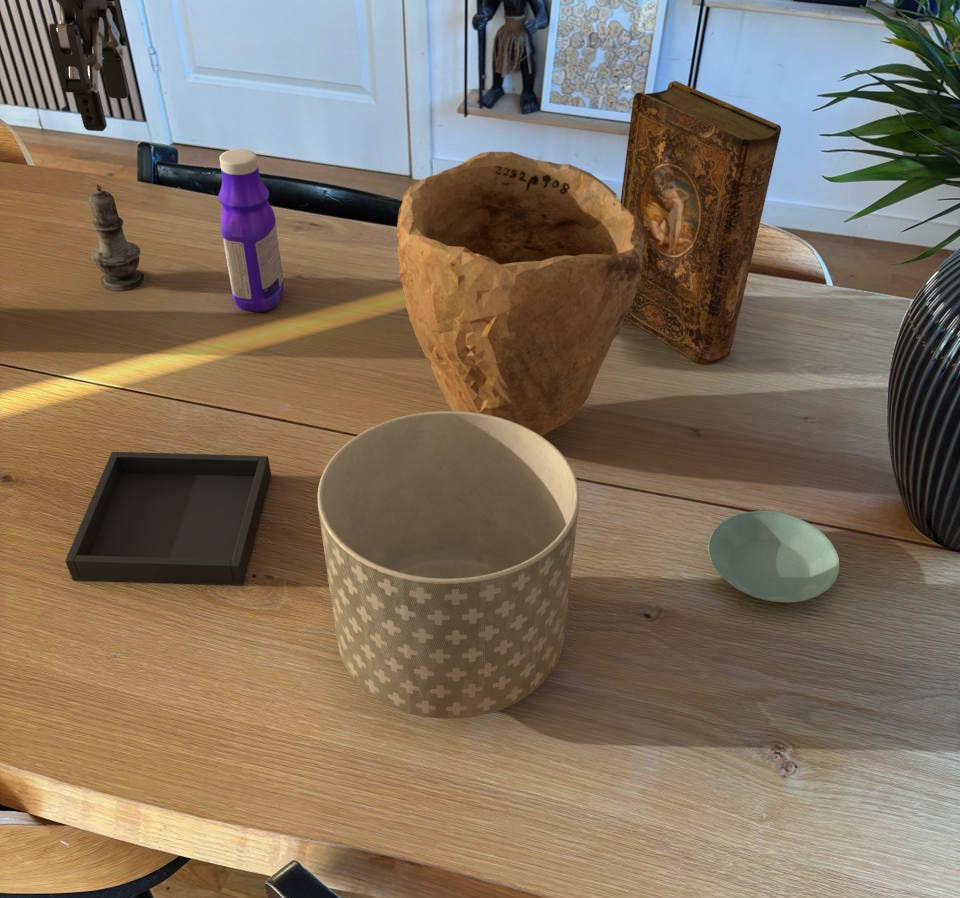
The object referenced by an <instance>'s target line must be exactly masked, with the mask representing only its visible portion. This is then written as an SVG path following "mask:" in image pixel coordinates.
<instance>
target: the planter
mask: <svg viewBox="0 0 960 898" xmlns="http://www.w3.org/2000/svg"><path fill="white" fill-rule="evenodd" d="M316 497H317V510H318V516H319V525H320V530H321V531H320V532H321V539H322V545H323V551H324V560H325V566H326V574H327V581H328V588H329V596H330V602H331V608H332V616H333V624H334V631H335V638H336V644H337V649H338V653H339V655H340V659H341V660H342V663H343V665H344V668H345V669H346V670H347V672H348V674H349V675H350V676H351V677H352V678H353V680H354V681H355V682H356V683H357V684H358V685H359V686H360V687H361V688H362V690H364V691H365V692H366V693H368V694H369V695H371V697H373V698H375V699H376V700H378V701H379V702H382V703H383V704H385V705H387V706H389V707H391V708H394V709H397V710H399V711H401V712H405V713H408V714H411V715H416V716H420V717H425V718H432V719H446V720H447V719H449V720H450V719H451V720H452V719H466V718H474V717H478V716H483V715H488V714H492V713H495V712H497V711H500V710H503V709H506V708H507V707H511V706H512V705H515V704H516V703H518V702H520V701H522V700H523V699H524V698H526V697H527V696H529V695H531V694H532V693H534V692H535V690H536V689H537V688H539V687H540V686H541V685H542V684H543V683H544V682H545V681H546V680H547V678H548V677H549V676H550V675H551V673H552V672H553V670H554V668H555V666H557V663H558V661H559V659H560V657H561V654H562V650H563V646H564V641H565V631H566V625H567V624H566V622H567V615H568V605H569V596H570V590H571V589H570V588H571V579H572V570H573V562H574V552H575V543H576V533H577V525H578V517H579V508H580V489H579V482H578V479H577V476H576V473H575V471H574V469H573V467H572V465H571V463H570V462H569V460H567V458H566V456H564V454H563V453H562V452H561V451H560V450H559V449H558V448H557V446H555V445H554V444H552V443H551V441H549V440H548V439H546V438H545V437H544V436H540V435H539V434H537V433H535V432H534V431H532V430H530V429H528V428H526V427H524V426H522V425H519V424H517V423H514V422H512V421H509V420H506V419H502V418H499V417H495V416H491V415H486V414H480V413H473V412H463V411H452V410H439V411H436V410H435V411H427V412H419V413H412V414H408V415H407V414H406V415H403V416H399V417H396V418H393V419H390V420H386V421H384V422H381V423H379V424H377V425H374V426H373V427H370V428H368V429H366V430H364V431H362V432H361V433H359V434H358V435H356V436H354V437H353V438H352V439H349V441H347V442H346V443H345V444H344V445H342V446H341V447H340V449H339V450H338V451H336V453H334V455H333V456H332V457H331V459H330V460H329V462H328V463H327V464H326V466H325V468H324V470H323V472H322V474H321V477H320V480H319V483H318V488H317V496H316Z"/></svg>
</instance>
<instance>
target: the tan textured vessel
mask: <svg viewBox="0 0 960 898" xmlns="http://www.w3.org/2000/svg"><path fill="white" fill-rule="evenodd" d="M396 239H397V247H396V254H397V260H398V266H399V272H398V273H399V275H398V276H399V282H400V283H401V286H402V290H403V294H404V298H405V299H404V300H405V308H406V311H407V314H408V318H409V322H410V325H411V327H412V329H413V332H414V335H415V337H416V339H417V341H418V343H419V346H420V347H421V350H422V352H423V354H424V356H425V357H426V360H427V361H428V363H429V365H430V366H431V367H430V368H431V371H432V373H433V376H434V377H435V380H436V382H437V386H438V387H439V390H440V391H441V394H442V396H443V399H444V400H445V402H446V404H447V405H448V406H449V408H450V410H451V411H463V412H473V413H480V414H486V415H491V416H495V417H499V418H502V419H506V420H509V421H512V422H514V423H517V424H519V425H522V426H524V427H526V428H528V429H530V430H532V431H534V432H535V433H537V434H539V435H540V436H542V437H544V436H545V435H546V434H548V433H550V432H552V431H553V430H555V429H556V428H559V427H561V426H563V425H564V424H566V423H567V422H568V421H569V420H571V419H572V418H573V417H574V415H575V414H576V413H578V411H579V410H580V409H581V408H582V407H583V406H584V405H585V403H586V401H587V400H588V398H589V395H590V394H591V391H592V389H593V386H594V383H595V381H596V379H597V376H598V373H599V371H600V369H601V367H602V365H603V364H604V361H605V358H606V357H607V354H608V353H609V350H610V348H611V347H612V343H613V341H614V340H615V338H616V337H617V336H618V334H619V332H620V330H621V327H622V326H623V323H624V321H625V320H626V318H625V317H626V316H627V314H628V312H629V310H630V308H631V306H632V304H633V301H634V298H635V295H636V293H637V290H638V286H639V283H640V279H641V273H642V270H643V253H644V250H645V241H644V234H643V227H642V224H641V222H640V221H639V219H638V218H637V217H636V216H634V215H633V214H631V213H629V212H628V211H627V210H626V209H625V207H624V206H623V205H622V204H621V199H620V198H619V196H618V194H617V193H616V192H615V191H614V190H613V189H612V188H611V187H610V186H608V185H607V184H606V183H604V182H603V181H602V180H600V179H599V178H598V177H596V176H595V175H594V174H592V173H591V172H589V171H586V170H584V169H581V168H579V167H577V166H575V165H571V164H570V163H568V164H567V163H556V162H552V161H547V160H540V159H534V158H531V157H527V156H524V155H521V154H518V153H515V152H514V151H513V152H512V151H486V152H480V153H478V154H476V155H474V156H472V157H470V158H468V159H466V160H465V161H464V162H462V163H461V164H459V165H456V166H454V167H451V168H448V169H445V170H442V171H440V172H439V173H437V174H436V173H435V174H433V175H432V174H431V175H429V176H427V177H425V178H423V179H421V180H418V181H417V182H415V183H413V184H411V185H410V187H409V188H407V190H406V191H405V192H404V193H403V195H402V202H401V204H400V207H399V209H398V215H397V226H396Z"/></svg>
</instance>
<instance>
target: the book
mask: <svg viewBox="0 0 960 898" xmlns="http://www.w3.org/2000/svg"><path fill="white" fill-rule="evenodd" d="M781 132H782V127H781V125H780V124H777V123H775V122H773V121H770V120H768V119H766V118H764V117H761V116H759V115H757V114H754V113H752V112H750V111H747V110H745V109H742V108H740V107H737V106H736V105H733V104H731V103H729V102H726V101H723V100H721V99H719V98H716V97H715V96H712V95H710V94H708V93H705V92H702V91H700V90H698V89H695V88H693V87H691V86H690V85H689V86H688V85H687V84H684V83H682V82H680V81H677V80H673V81H671V82H669V83H668V84H667V89H665V90H662V91H657V92H650V93H644V92H642V91H640V92H639V91H638V92H637V93H635V94H634V96H633V99H632V107H631V114H630V123H629V129H628V137H627V146H626V147H627V148H626V155H625V162H624V170H623V179H622V187H621V195H620V202H621V204H622V205H623V206H624V207H625V209H626V210H627V211H628V212H629V213H631V214H633V215H634V216H636V217H637V218H638V219H639V221H640V222H641V224H642V227H643V234H644V241H645V250H644V253H643V270H642V273H641V279H640V283H639V286H638V290H637V293H636V295H635V298H634V301H633V304H632V306H631V308H630V310H629V312H628V314H627V316H626V317H625V320H627V321H629V322H631V323H632V324H634V325H635V326H637V327H639V328H640V329H642V330H643V331H646V332H647V333H648V334H650V335H652V336H653V337H655V338H656V339H658V340H659V341H661V342H663V343H665V344H666V345H668V346H669V347H670V348H673V349H674V350H675V351H678V352H679V353H681V354H682V355H684V356H686V357H687V358H689V359H690V360H692V361H694V362H695V363H697V364H700V365H712V364H716V363H717V364H718V363H719V362H721V361H724V360H726V359H727V358H728V357H729V356H730V355H731V353H732V348H733V344H734V339H735V335H736V331H737V326H738V323H739V317H740V313H741V309H742V304H743V299H744V295H745V290H746V287H747V281H748V278H749V273H750V269H751V265H752V261H753V255H754V251H755V246H756V243H757V237H758V233H759V229H760V224H761V220H762V217H763V212H764V207H765V203H766V199H767V198H766V197H767V194H768V189H769V185H770V180H771V177H772V172H773V168H774V164H775V158H776V155H777V150H778V145H779V140H780V138H781V137H780V136H781Z"/></svg>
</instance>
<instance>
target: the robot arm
mask: <svg viewBox="0 0 960 898" xmlns="http://www.w3.org/2000/svg"><path fill="white" fill-rule="evenodd" d="M55 2H57V4H58V5H59V12H60V15H59V16H60V17H59V23H49V25H48V32H49V36H50V40H51V45H52V49H53V53H54V57H55V61H56V65H57V69H58V74H59V78H60V83H61V87H62V90H63V92H64V93H75V97H76V100H77V105H78V109H79V113H80V116H81V121H82V125H83V128H84V129H85V130H87V131H88V132H89V131H90V132H104V130H105V129H106V128H107V125H108V124H107V123H108V122H107V120H106V116H105V111H104V107H103V103H102V98H101V93H100V90H99V78H98V77H99V75H98V74H99V70H101V73H102V77H103V81H104V82H103V83H104V86H105V89H106V94H107V96H108V97H109V98H111V99H123V100H125V99H127V98H128V97H129V95H130V90H129V86H128V81H127V77H126V72H125V67H124V61H123V59H124V56H125V51H124V48H123V47H127V45H128V37H127V34H126V30H125V26H124V21H123V16H122V12H121V8H120V3H119V0H55Z"/></svg>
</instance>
